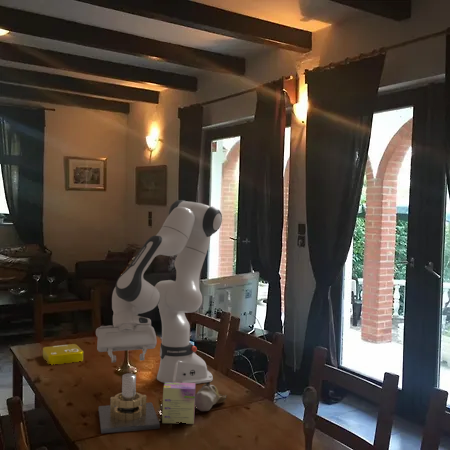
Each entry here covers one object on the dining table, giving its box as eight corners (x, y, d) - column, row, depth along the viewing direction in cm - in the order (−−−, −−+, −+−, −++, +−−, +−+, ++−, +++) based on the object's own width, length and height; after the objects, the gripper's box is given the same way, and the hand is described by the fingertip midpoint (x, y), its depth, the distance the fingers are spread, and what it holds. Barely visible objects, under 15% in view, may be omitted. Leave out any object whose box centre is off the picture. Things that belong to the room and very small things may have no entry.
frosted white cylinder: (134, 411, 177) (135, 373, 177) (136, 417, 173) (137, 377, 172) (120, 412, 176) (121, 373, 175) (121, 418, 172) (122, 378, 171)
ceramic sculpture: (186, 385, 183) (202, 375, 197) (184, 410, 183) (201, 398, 197) (215, 390, 179) (229, 379, 193) (213, 416, 179) (228, 403, 193)
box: (194, 417, 178) (195, 382, 178) (194, 424, 172) (195, 388, 172) (163, 416, 178) (164, 381, 177) (161, 423, 172) (162, 387, 172)
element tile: (75, 352, 246) (75, 342, 246) (84, 361, 233) (84, 351, 233) (41, 356, 239) (42, 346, 238) (49, 366, 226) (49, 355, 225)
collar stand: (151, 406, 186) (152, 385, 185) (159, 428, 168) (160, 405, 168) (98, 410, 181) (99, 388, 180) (101, 433, 164) (101, 409, 163)
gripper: (95, 321, 184) (96, 358, 175) (155, 318, 189) (158, 354, 181) (95, 331, 188) (96, 367, 180) (153, 328, 194) (156, 362, 185)
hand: (128, 360), depth 180 cm, fingers open, 8 cm apart
